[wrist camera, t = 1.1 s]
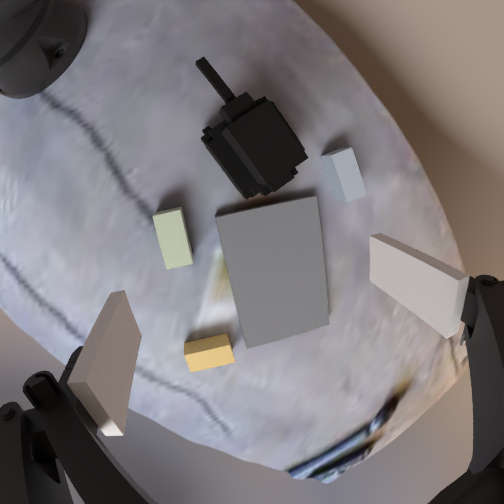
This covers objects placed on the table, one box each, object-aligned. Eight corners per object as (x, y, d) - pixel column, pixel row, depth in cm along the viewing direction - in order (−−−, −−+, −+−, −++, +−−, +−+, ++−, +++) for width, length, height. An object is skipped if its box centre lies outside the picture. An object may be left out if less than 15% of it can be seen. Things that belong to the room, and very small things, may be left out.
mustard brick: (190, 358, 37) (191, 372, 35) (184, 342, 36) (184, 355, 34) (231, 349, 38) (235, 362, 35) (227, 332, 37) (229, 344, 34)
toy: (225, 68, 27) (238, 31, 18) (294, 163, 32) (333, 164, 23) (170, 103, 28) (160, 77, 18) (243, 200, 32) (263, 214, 23)
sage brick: (156, 211, 31) (152, 216, 28) (181, 205, 31) (180, 209, 29) (168, 260, 33) (166, 269, 30) (193, 255, 33) (192, 263, 30)
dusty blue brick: (320, 155, 33) (331, 155, 30) (339, 148, 33) (351, 147, 30) (335, 200, 35) (347, 203, 32) (354, 191, 35) (366, 194, 32)
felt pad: (214, 215, 32) (215, 217, 31) (312, 195, 34) (316, 196, 33) (245, 343, 38) (246, 348, 37) (325, 320, 40) (329, 324, 38)
